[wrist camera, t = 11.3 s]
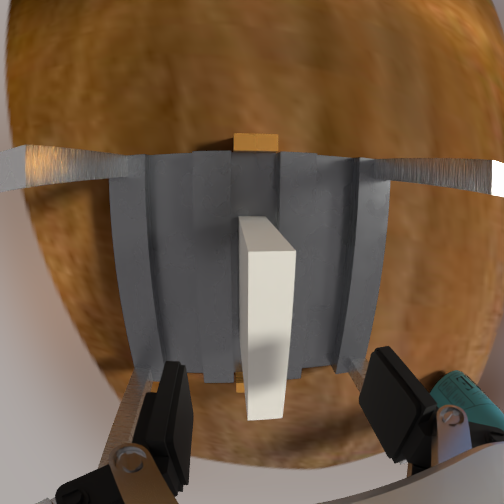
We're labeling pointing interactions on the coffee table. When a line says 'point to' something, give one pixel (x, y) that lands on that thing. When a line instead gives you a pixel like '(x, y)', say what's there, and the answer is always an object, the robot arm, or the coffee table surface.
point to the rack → (226, 248)
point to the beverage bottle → (467, 399)
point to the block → (264, 314)
